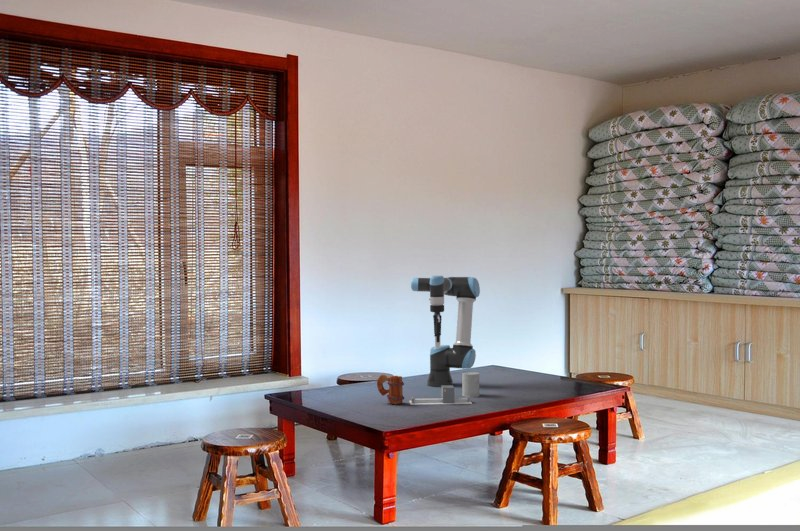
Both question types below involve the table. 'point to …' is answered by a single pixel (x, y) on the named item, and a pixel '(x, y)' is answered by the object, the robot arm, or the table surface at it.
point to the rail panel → (438, 401)
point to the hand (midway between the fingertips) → (437, 347)
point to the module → (448, 393)
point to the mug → (391, 388)
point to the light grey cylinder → (470, 384)
